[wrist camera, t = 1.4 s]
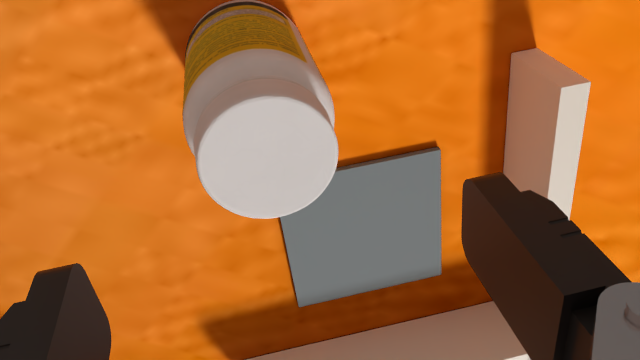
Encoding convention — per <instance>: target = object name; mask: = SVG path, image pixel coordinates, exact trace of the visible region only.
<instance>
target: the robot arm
mask: <svg viewBox="0 0 640 360" xmlns="http://www.w3.org/2000/svg"><path fill="white" fill-rule="evenodd" d="M462 244H463V248H464V252H465V255H466V258H467V260H468V262H469V264H470V265H471V267H472V269H473V270H474V272H475V273H476V275H477V276H478V278H479V279H480V281H481V283H482V284H483V286H484V287H485V289H486V290H487V292H488V293H489V295H490V297H491V298H492V300H493V301H494V303H495V304H496V306H497V307H498V309H499V311H500V312H501V314H502V315H503V317H504V318H505V320H506V321H507V323H508V325H509V326H510V328H511V329H512V331H513V332H514V334H515V335H516V337H517V339H518V340H519V342H520V343H521V345H522V346H523V348H524V349H525V351H526V353H527V354H528V356H529V357H530V359H531V360H640V283H634V282H631V281H630V280H629V279H628V278H627V277H626V276H625V275H624V274H623V273H622V272H621V271H620V270H619V269H618V268H617V267H616V266H615V265H614V264H613V263H612V261H611V260H610V259H609V258H608V257H607V256H606V255H605V254H604V253H603V252H602V251H601V250H600V249H599V248H598V247H597V246H596V245H595V244H594V243H593V242H592V241H591V240H590V239H589V238H588V237H587V236H586V235H585V234H582V233H581V230H580V229H579V228H578V227H577V226H576V225H575V224H574V223H573V222H572V221H571V220H570V221H569V220H568V217H567V215H566V214H565V213H564V212H563V211H562V210H561V209H560V208H559V207H558V206H557V205H556V204H555V203H554V202H553V201H551V200H549V199H547V198H545V197H543V196H541V195H539V194H537V193H535V192H533V191H532V190H527V191H522V192H520V191H519V190H518V189H517V188H516V187H515V185H514V184H513V183H512V182H511V181H510V180H509V179H508V178H507V177H506V176H505V175H504V174H503V173H501V172H498V173H494V174H489V175H484V176H480V177H475V178H471V179H466V180H465V182H464V184H463V198H462ZM110 349H111V331H110V325H109V321H108V318H107V316H106V313H105V311H104V309H103V307H102V305H101V303H100V301H99V299H98V297H97V295H96V293H95V291H94V289H93V287H92V285H91V282H90V280H89V278H88V276H87V274H86V272H85V270H84V269H83V267H82V266H81V265H80V264H78V263H76V264H71V265H67V266H62V267H57V268H53V269H48V270H44V271H39V272H37V273H36V275H35V276H34V279H33V282H32V284H31V287H30V290H29V293H28V296H27V298H26V301H22V302H18V303H14V304H13V305H12V306H11V307H10V308H9V310H8V311H7V312H6V313H5V314H4V315H3V317H2V318H1V319H0V360H109V356H110Z"/></svg>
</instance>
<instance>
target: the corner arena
mask: <svg viewBox="0 0 640 360" xmlns="http://www.w3.org/2000/svg"><path fill="white" fill-rule="evenodd" d="M590 84H591V82H590V81H589V80H587V79H586V78H584V77H582V76H581V75H579V74H578V73H576V72H574V71H573V70H571V69H570V68H568V67H566V66H565V65H563V64H562V63H560V62H559V61H557V60H555V59H554V58H552V57H551V56H549V55H547V54H546V53H544V52H543V51H541V50H539V49H538V48H535V49H529V50H524V51H519V52H514V53H511V66H510V81H509V96H508V110H507V125H506V140H505V155H504V169H503V174H504V175H505V176H506V177H507V178H508V179H509V180H510V181H511V182H512V183H513V184H514V185H515V187H516V188H517V189H518V190H519V191H520V192H522V191H527V190H532V191H533V192H535V193H537V194H539V195H541V196H543V197H545V198H547V199H549V200H551V201H553V202H554V203H555V204H556V205H557V206H558V207H559V208H560V209H561V210H562V211H563V212H564V213H565V214H566V215H567V217H568V220H569V219H570V213H571V206H572V200H573V193H574V187H575V181H576V174H577V168H578V161H579V155H580V148H581V142H582V136H583V129H584V123H585V116H586V110H587V103H588V97H589V91H590ZM246 360H531V359H530V357H529V356H528V354H527V353H526V351H525V349H524V348H523V346H522V345H521V343H520V342H519V340H518V339H517V337H516V335H515V334H514V332H513V331H512V329H511V328H510V326H509V325H508V323H507V321H506V320H505V318H504V317H503V315H502V314H501V312H500V311H499V309H498V307H497V306H496V304H495V303H494V301H491V302H487V303H483V304H479V305H474V306H470V307H466V308H462V309H457V310H453V311H449V312H445V313H440V314H436V315H432V316H428V317H424V318H419V319H415V320H411V321H407V322H402V323H398V324H394V325H390V326H385V327H381V328H377V329H373V330H369V331H364V332H360V333H356V334H352V335H347V336H343V337H339V338H335V339H330V340H326V341H322V342H318V343H313V344H309V345H305V346H301V347H297V348H292V349H288V350H284V351H280V352H275V353H271V354H267V355H263V356H258V357H254V358H250V359H246Z"/></svg>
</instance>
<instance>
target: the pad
mask: <svg viewBox="0 0 640 360" xmlns="http://www.w3.org/2000/svg"><path fill="white" fill-rule="evenodd" d="M280 220H281V224H282V229H283V234H284V239H285V243H286V248H287V253H288V258H289V263H290V267H291V272H292V277H293V282H294V286H295V291H296V296H297V301H298V306H299V307H303V306H307V305H311V304H316V303H320V302H325V301H329V300H333V299H338V298H342V297H346V296H351V295H355V294H359V293H364V292H368V291H372V290H377V289H381V288H385V287H390V286H394V285H399V284H403V283H407V282H412V281H416V280H420V279H425V278H429V277H433V276H438V275H441V150H440V148H439V147H435V148H430V149H425V150H420V151H415V152H411V153H406V154H401V155H396V156H391V157H387V158H382V159H377V160H372V161H368V162H363V163H358V164H353V165H348V166H344V167H339V168H336V170H335V173H334V175H333V177H332V179H331V181H330V183H329V184H328V186H327V187H326V189H325V190H324V191H323V193H322V194H321V195H320V196H319V197H318V198H317V199H315V200H314V201H313V202H312V203H310V204H309V205H308V206H306V207H304V208H302V209H301V210H299V211H297V212H294V213H292V214H289V215H286V216H282V217H280Z"/></svg>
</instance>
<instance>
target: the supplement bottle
mask: <svg viewBox="0 0 640 360" xmlns="http://www.w3.org/2000/svg"><path fill="white" fill-rule="evenodd" d="M334 119H335V118H334V106H333V101H332V98H331V95H330V92H329V89H328V87H327V85H326V83H325V81H324V79H323V77H322V75H321V73H320V71H319V69H318V67H317V65H316V63H315V61H314V60H313V57H312V55H311V54H310V52H309V50H308V48H307V46H306V44H305V42H304V40H303V38H302V36H301V34H300V32H299V30H298V29H297V27H296V26H295V24H294V23H293V22H292V21H291V20H290V19H289V18H288V17H287V16H286V15H285V14H284V13H283V12H281V11H280V10H278V9H277V8H275V7H273V6H271V5H269V4H267V3H264V2H261V1H256V0H234V1H229V2H226V3H223V4H221V5H219V6H217V7H215V8H213V9H212V10H210V11H209V12H208V13H206V14H205V15H204V16H203V17H202V18H201V19H200V20H199V22H198V23H197V24H196V26H195V27H194V29H193V31H192V33H191V35H190V37H189V40H188V44H187V47H186V54H185V81H184V101H183V125H184V132H185V136H186V140H187V142H188V145H189V147H190V149H191V151H192V153H193V154H194V156H195V158H196V167H197V172H198V176H199V179H200V181H201V183H202V185H203V187H204V188H205V190H206V192H207V193H208V194H209V195H210V196H211V197H212V198H213V200H214V201H216V202H217V203H218V204H219V205H221V206H222V207H224V208H225V209H227V210H229V211H231V212H233V213H235V214H238V215H241V216H245V217H250V218H262V219H267V218H277V217H282V216H286V215H289V214H292V213H294V212H297V211H299V210H301V209H302V208H304V207H306V206H308V205H309V204H310V203H312V202H313V201H314V200H315V199H317V198H318V197H319V196H320V195H321V194H322V193H323V191H324V190H325V189H326V187H327V186H328V184H329V183H330V181H331V179H332V177H333V175H334V173H335V170H336V167H337V162H338V143H337V138H336V135H335V132H334Z"/></svg>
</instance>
